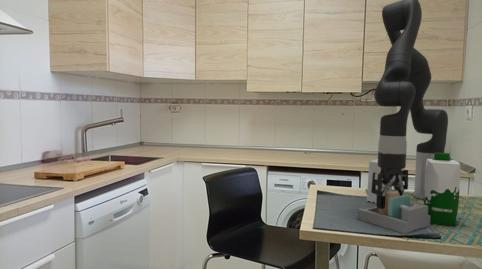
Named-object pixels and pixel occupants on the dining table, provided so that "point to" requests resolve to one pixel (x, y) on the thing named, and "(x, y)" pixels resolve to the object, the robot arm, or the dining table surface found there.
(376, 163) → the skincare box
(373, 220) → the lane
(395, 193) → the jar
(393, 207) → the plate
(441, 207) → the milk carton
